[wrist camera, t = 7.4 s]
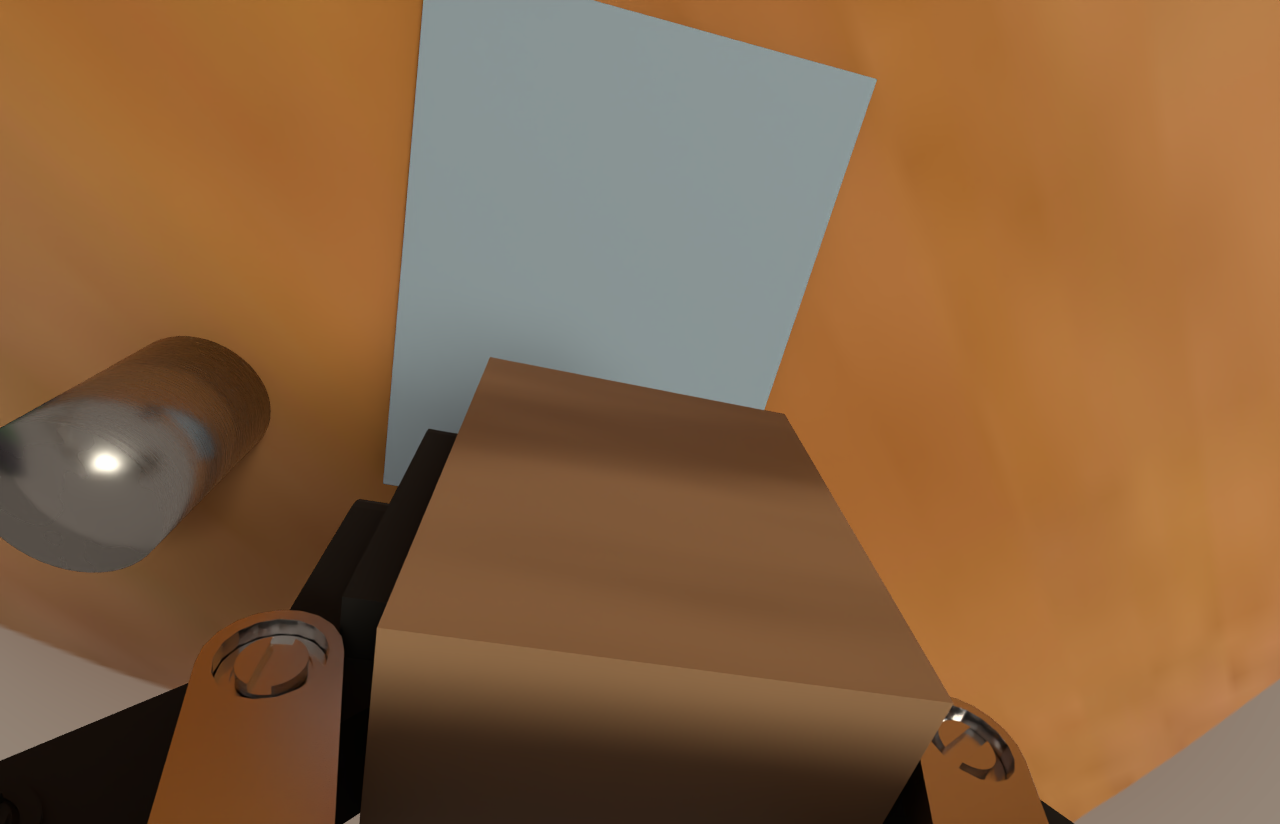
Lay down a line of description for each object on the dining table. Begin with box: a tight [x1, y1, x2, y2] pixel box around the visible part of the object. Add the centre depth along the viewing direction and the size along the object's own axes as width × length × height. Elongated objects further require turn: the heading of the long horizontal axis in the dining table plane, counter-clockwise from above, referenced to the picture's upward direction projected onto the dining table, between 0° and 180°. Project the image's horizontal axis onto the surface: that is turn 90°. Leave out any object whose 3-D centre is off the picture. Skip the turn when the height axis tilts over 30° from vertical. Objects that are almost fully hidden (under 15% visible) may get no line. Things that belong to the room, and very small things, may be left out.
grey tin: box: [0, 336, 271, 572], centre depth 22 cm, size 5×5×7 cm
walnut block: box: [360, 357, 954, 824], centre depth 9 cm, size 5×5×6 cm
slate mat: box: [383, 0, 877, 486], centre depth 24 cm, size 18×14×1 cm
